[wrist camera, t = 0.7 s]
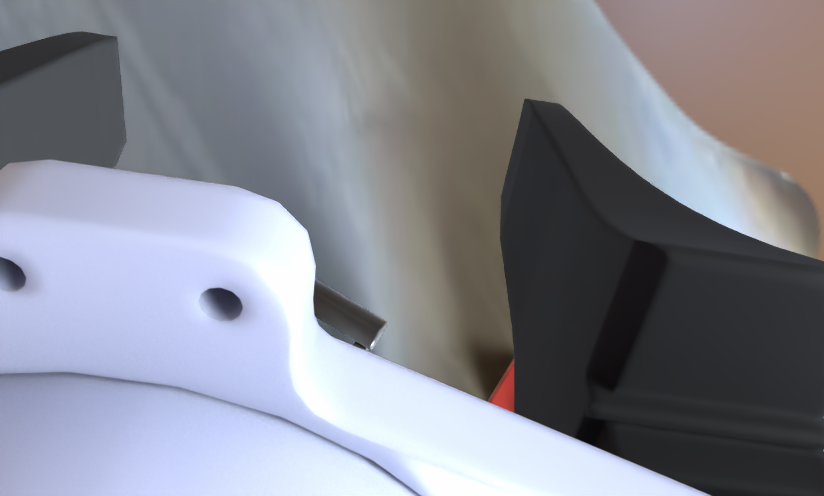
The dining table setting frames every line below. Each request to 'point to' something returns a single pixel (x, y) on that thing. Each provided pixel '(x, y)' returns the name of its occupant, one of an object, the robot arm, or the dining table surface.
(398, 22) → the dining table surface
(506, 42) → the dining table surface
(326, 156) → the dining table surface
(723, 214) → the dining table surface
